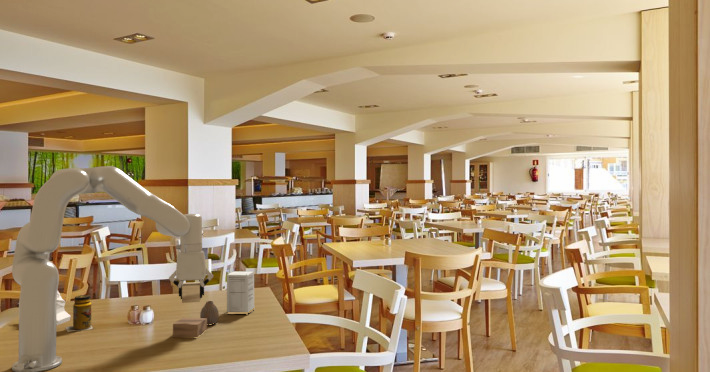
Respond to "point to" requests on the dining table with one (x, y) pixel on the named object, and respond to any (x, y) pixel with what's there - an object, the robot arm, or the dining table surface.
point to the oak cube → (191, 292)
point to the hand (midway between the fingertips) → (191, 297)
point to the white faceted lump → (61, 311)
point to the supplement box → (240, 291)
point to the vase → (210, 312)
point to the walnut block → (189, 327)
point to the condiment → (81, 314)
